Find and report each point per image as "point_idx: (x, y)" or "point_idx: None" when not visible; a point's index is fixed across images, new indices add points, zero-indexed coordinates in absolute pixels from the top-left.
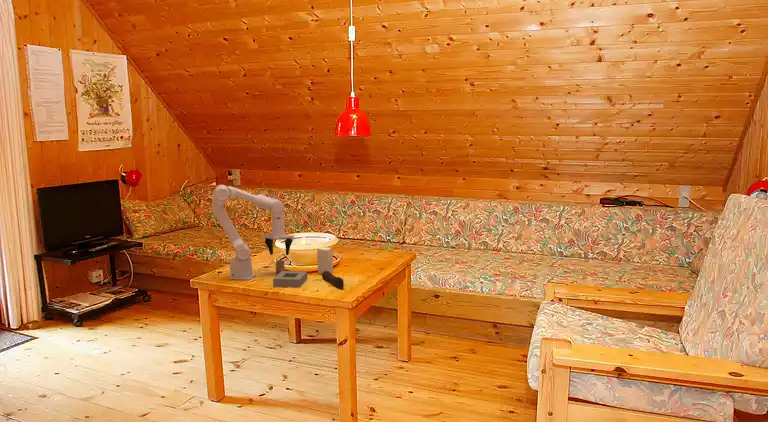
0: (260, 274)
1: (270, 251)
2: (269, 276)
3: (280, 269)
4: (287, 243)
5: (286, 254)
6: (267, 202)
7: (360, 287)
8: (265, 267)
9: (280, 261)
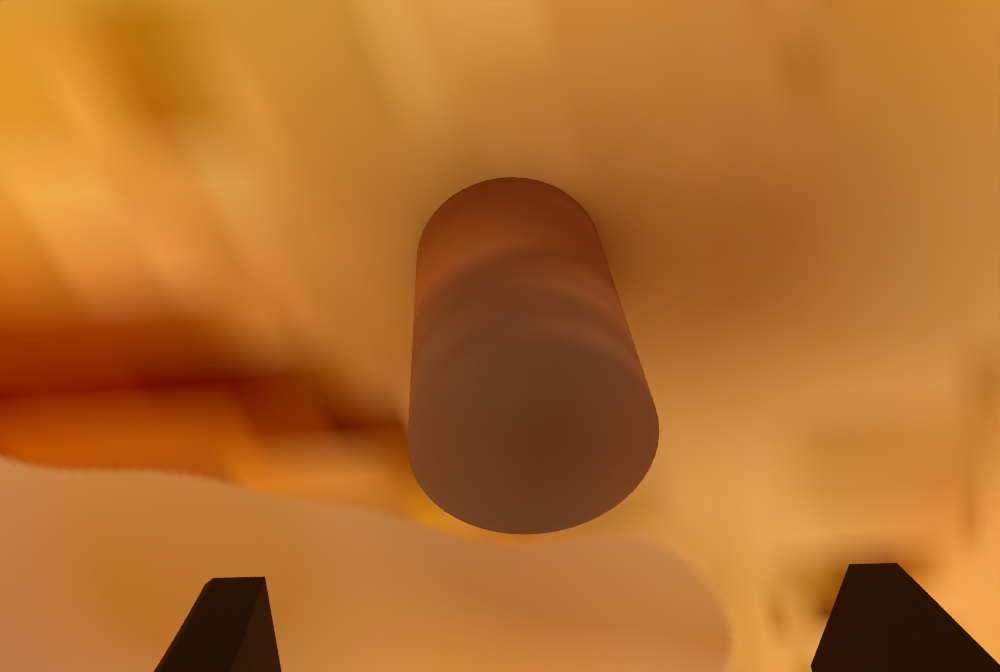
0: (943, 193)
1: (960, 670)
2: (719, 59)
3: (482, 243)
4: None
5: (234, 595)
6: None
7: None
8: None
9: (520, 454)
